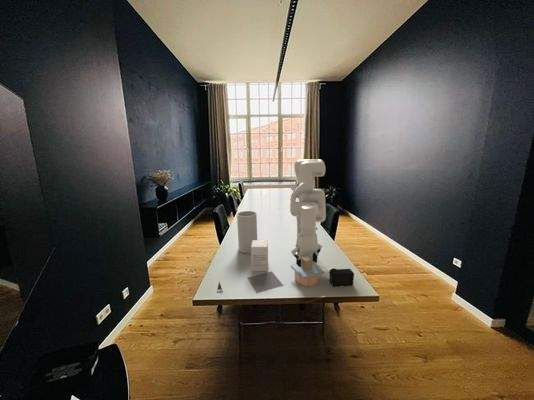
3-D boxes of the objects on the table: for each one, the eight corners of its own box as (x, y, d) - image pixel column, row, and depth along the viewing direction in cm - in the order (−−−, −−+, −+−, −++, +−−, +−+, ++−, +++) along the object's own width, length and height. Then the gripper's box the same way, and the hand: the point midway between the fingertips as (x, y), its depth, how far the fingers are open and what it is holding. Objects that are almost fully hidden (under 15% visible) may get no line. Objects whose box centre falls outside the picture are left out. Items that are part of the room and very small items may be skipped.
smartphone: (216, 292, 103) (220, 274, 118) (217, 293, 103) (220, 275, 118) (232, 290, 104) (233, 273, 118) (232, 291, 104) (233, 274, 118)
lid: (290, 266, 113) (290, 256, 112) (310, 261, 118) (310, 251, 116) (302, 278, 103) (303, 267, 101) (324, 273, 107) (324, 261, 106)
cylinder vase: (260, 247, 149) (260, 212, 144) (251, 255, 139) (249, 217, 133) (245, 244, 155) (244, 210, 149) (235, 251, 144) (233, 215, 139)
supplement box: (253, 263, 129) (252, 239, 125) (268, 263, 128) (268, 239, 125) (251, 272, 120) (250, 246, 116) (268, 272, 119) (267, 246, 116)
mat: (247, 278, 114) (247, 277, 114) (271, 272, 119) (271, 271, 119) (256, 294, 101) (256, 293, 101) (283, 286, 107) (283, 285, 106)
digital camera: (348, 279, 111) (349, 267, 110) (353, 286, 106) (354, 273, 105) (328, 280, 111) (328, 268, 109) (332, 287, 106) (332, 274, 104)
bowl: (291, 277, 114) (291, 267, 113) (309, 272, 118) (309, 262, 117) (302, 289, 104) (303, 278, 103) (322, 283, 109) (322, 272, 107)
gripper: (318, 226, 112) (316, 257, 116) (287, 231, 106) (287, 264, 110) (327, 230, 105) (325, 263, 109) (295, 236, 99) (295, 271, 103)
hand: (306, 263), depth 109 cm, fingers open, 8 cm apart
